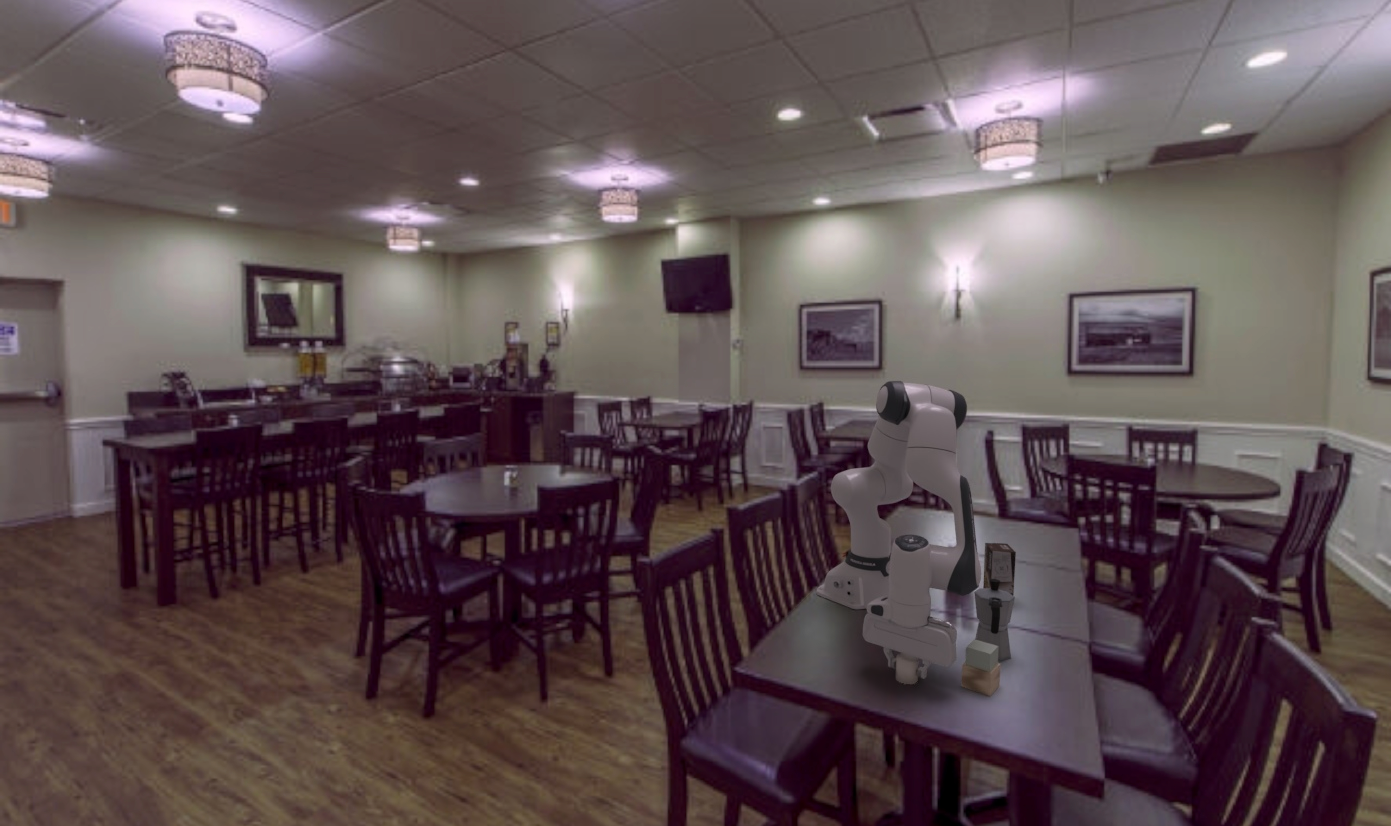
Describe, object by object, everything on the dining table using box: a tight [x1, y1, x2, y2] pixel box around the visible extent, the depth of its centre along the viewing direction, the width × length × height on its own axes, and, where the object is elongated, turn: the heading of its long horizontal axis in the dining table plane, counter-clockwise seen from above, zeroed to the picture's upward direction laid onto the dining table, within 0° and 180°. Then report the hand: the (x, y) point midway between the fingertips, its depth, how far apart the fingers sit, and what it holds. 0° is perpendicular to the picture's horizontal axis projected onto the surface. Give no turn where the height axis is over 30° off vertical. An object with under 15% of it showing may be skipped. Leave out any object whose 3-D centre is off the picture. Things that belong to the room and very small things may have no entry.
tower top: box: [965, 639, 999, 672], centre depth 141 cm, size 5×5×4 cm
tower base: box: [960, 660, 1002, 697], centre depth 142 cm, size 6×6×5 cm
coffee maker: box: [973, 579, 1016, 662], centre depth 156 cm, size 15×9×18 cm, turn 159°
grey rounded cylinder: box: [895, 652, 919, 685], centre depth 145 cm, size 5×5×5 cm
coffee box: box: [983, 542, 1017, 596], centre depth 189 cm, size 9×6×16 cm
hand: (907, 671), depth 145 cm, fingers open, 5 cm apart
